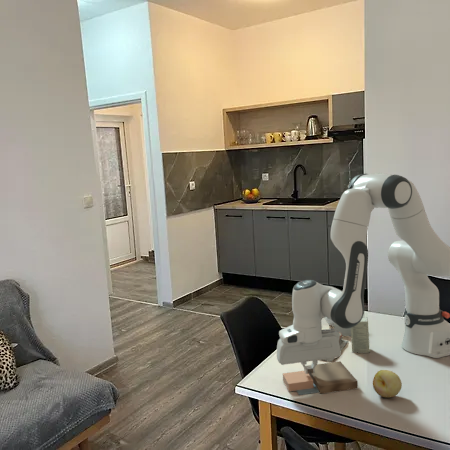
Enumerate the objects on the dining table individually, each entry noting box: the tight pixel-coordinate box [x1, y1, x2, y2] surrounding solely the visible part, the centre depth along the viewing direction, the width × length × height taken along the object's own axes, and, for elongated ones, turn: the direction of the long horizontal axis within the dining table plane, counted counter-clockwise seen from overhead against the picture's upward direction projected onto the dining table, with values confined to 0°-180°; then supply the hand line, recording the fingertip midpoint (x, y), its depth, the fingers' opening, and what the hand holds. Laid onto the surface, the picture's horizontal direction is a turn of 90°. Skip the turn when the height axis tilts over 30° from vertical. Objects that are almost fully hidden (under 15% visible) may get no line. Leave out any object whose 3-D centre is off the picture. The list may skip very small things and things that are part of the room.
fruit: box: [372, 369, 403, 398], centre depth 134 cm, size 8×8×8 cm
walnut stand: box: [305, 360, 359, 395], centre depth 146 cm, size 12×14×2 cm
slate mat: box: [296, 383, 320, 396], centre depth 145 cm, size 8×12×1 cm, turn 8°
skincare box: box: [350, 316, 370, 354], centre depth 165 cm, size 6×4×12 cm
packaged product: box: [321, 332, 348, 363], centre depth 169 cm, size 18×5×10 cm
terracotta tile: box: [282, 370, 314, 392], centre depth 145 cm, size 8×7×2 cm
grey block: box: [333, 323, 351, 337], centre depth 181 cm, size 4×7×10 cm, turn 71°
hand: (309, 372), depth 145 cm, fingers closed
